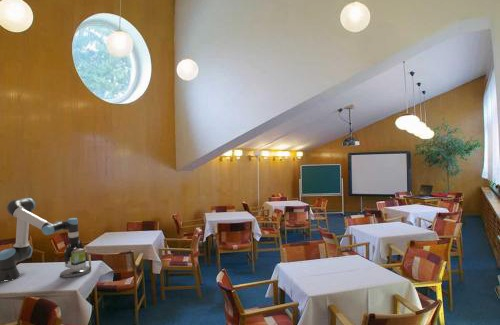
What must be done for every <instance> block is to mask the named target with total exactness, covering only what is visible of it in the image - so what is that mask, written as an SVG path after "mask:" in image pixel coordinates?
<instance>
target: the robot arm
mask: <svg viewBox="0 0 500 325" xmlns="http://www.w3.org/2000/svg"><path fill="white" fill-rule="evenodd" d="M35 208H36V201H35V200H34V199H33V198H31V197H23V198H17V199H13V200H10V201H9V202H8V203H7V204H6V211H7V213H8V214H9V215H10V216H12V217H14V218H16V230H15V232H16V233H15V243H14V244H13V245H12V246H13V247H12V248H6V249H3V250H1V251H0V281H4V280H11V281H13V280H12V279H14V280H16V279H15V278H17V279H18V277H19V276H20V277H21V275H20V272H19V269H18V267H17V263H19V262H22V261H25V260H27V259H29V258H30V257H32V254H33V247H32V246H31V245H30V243H29V231H30V230H29V229H30V228H29V227H30V225H32V226H33V227H36V228H38V229H39V230H41V232H42V234H43V235H44V236H49V235H52V234H56V233H57V232H61V231H67V235H68V243H69V244H66V249H65V250H66V253H65V254H64V258H65V257H67V261H68V265H71V257H70V256H71V251H73V249H74V248H75V247H76V248H82V249H85V248H84V246H83V242H82V240H80V236H79V234H80V233H79V222H78V221H79V220H78V218H77V217H71V218H70V217H69V218H68V219H67V220H58V221H57V220H56V221H55V222H53V223H51V222H49V221H47V220H46V219H43V218H42V217H40V216H38V215H37V214H35V213H33V210H35ZM20 277H19V278H20Z"/></svg>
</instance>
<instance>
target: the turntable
mask: <svg viewBox="0 0 500 325" xmlns="http://www.w3.org/2000/svg"><path fill="white" fill-rule="evenodd" d="M91 255H92V254H88V266H87V265H86V266H85V267H82V268H79V269H71V268H67V269H64V270H62V271H60V274H59V276H60V277H61V278H63V279H71V278H78V277H81V276H84V275H87V274H89V273H90V272H92V258H91V257H92V256H91Z"/></svg>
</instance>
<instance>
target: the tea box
mask: <svg viewBox="0 0 500 325" xmlns="http://www.w3.org/2000/svg"><path fill="white" fill-rule="evenodd" d="M65 253H66V249H64V255H65ZM70 257H71V265H68V261H67V257H65V256H64V268H67V269H70V268H71V269H79V268H82V267H85V266H87V260H86V249H85V248H84V249H82V248H76V247H75V248H74V249H73V251H71V256H70Z"/></svg>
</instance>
